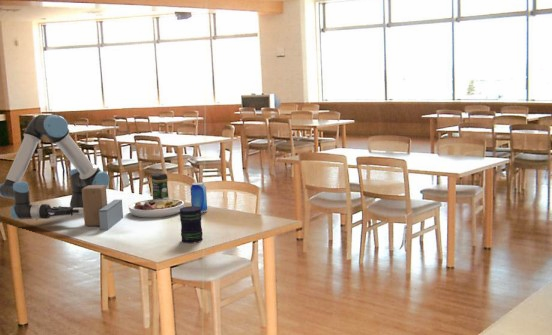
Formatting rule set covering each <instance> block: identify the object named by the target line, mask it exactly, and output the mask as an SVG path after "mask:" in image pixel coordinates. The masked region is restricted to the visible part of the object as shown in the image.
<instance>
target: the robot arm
mask: <svg viewBox="0 0 552 335" xmlns="http://www.w3.org/2000/svg"><path fill="white" fill-rule="evenodd" d="M68 126H69V124H68V121H67V120H66V118H64V117H63V116H61V115H57V114H38V115H36V116H34V117H33V118H32V119H31V120H30V122H29V123H28V124H27V126H26V128H25V129H24V132H23V134H22V136H23V139H22V141H21V143H20V146H19V148H18V150H17V153H16V156H15V158H14V160H13V162H12V165H11V167H9V168H10V169H9V171H8V174H7V175H6V178H5V180H4V182H3V183H0V197H2V198H5V199H10V200H11V199H12V200H13V201H14V204H13V205H12V206H10V211H9V213H10V217H11V218H12V219H14V220H33V219H35V220H36V221H37V220H38V219H39V220H40V219H42V220H43V219H45V220H47V219H50V217H54V216H67V215H68V216H73V215H75V214H76V215H77V214H80V215H81V214H84V210H83V199H82V189H83V188H84V187H86V186H88V185H105V186H106V189H108V186H109V184H110V176H109V173H108V172H106V171H104V170H101V169H100V168H99V167H98V165H97V164H94V163H92V162H91V161H90V160H89V158H88V157H87V155H86V154H85V153H84V151H82V149H81V148H80V147H79V145H78V144H77V143H76V142H75V140H74V139H73V138H72V137H71V135H70V129H69V127H68ZM44 137H46V138H47V139H48V140H49V142H50V143H51V144H54V145H56V146H57V147H58V148H59V150H60V151H61V152H62V153H63V154H64V156H65V157H66V158H67V159H68V160H69V162H70V163H71V164H72V165H73V167H74V168H72V169H71V170H70V173H69V174H70V175H69V176H70V184H71V185H70V186H71V197H70V198H71V199H70V202H69V206H61V205H60V206H53V207H51V205H50V204H49V203H42V204H41V203H38V204H37V203H35V204H33V203H32V204H31V198H30V188H29V187H30V186H29V182H27V181H22V180H23V178H24V175H25V174H26V171H27V168H28V166H29V164H30V161H31V159H32V158H33V155H34V153H35V150H36V148H37V146H38V144H39V143H41V142H42V140H43V138H44Z"/></svg>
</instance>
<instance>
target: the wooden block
mask: <svg viewBox="0 0 552 335" xmlns="http://www.w3.org/2000/svg"><path fill="white" fill-rule="evenodd" d="M82 199H83V210H84V213H83V219H84V220H83V221H84V226H85V227H100V219H99V210H100V209H102V208H103V207H104V206H106V205H107V204H108V197H107V188H106V186H105V185H88V186H86V187H84V188H83V189H82Z"/></svg>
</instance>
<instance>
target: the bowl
mask: <svg viewBox="0 0 552 335" xmlns="http://www.w3.org/2000/svg"><path fill="white" fill-rule="evenodd" d="M183 207H185V205H184V201H183V200H181V199H174V198H169V199H153V198H152V199H146V200H141V201H140V200H139V201H136V202H134V203H131V204H129V205H128V210H129V212H130V214H131V215H133V216H134V217H137V218H138V217H139V218H145V219H146V218H147V219H149V218H151V219H154V218H164V217H170V216H174V215H176V214H180V208H183Z"/></svg>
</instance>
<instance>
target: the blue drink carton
mask: <svg viewBox="0 0 552 335" xmlns="http://www.w3.org/2000/svg"><path fill="white" fill-rule="evenodd" d="M207 199H208V197H207V186H206V184H205V182H200V181H199V182H192V183H191V186H190V200H191V201H190V202H191V206H197V207H201V214H204V213H206V212H207V210H208V200H207ZM203 212H204V213H203Z"/></svg>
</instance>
